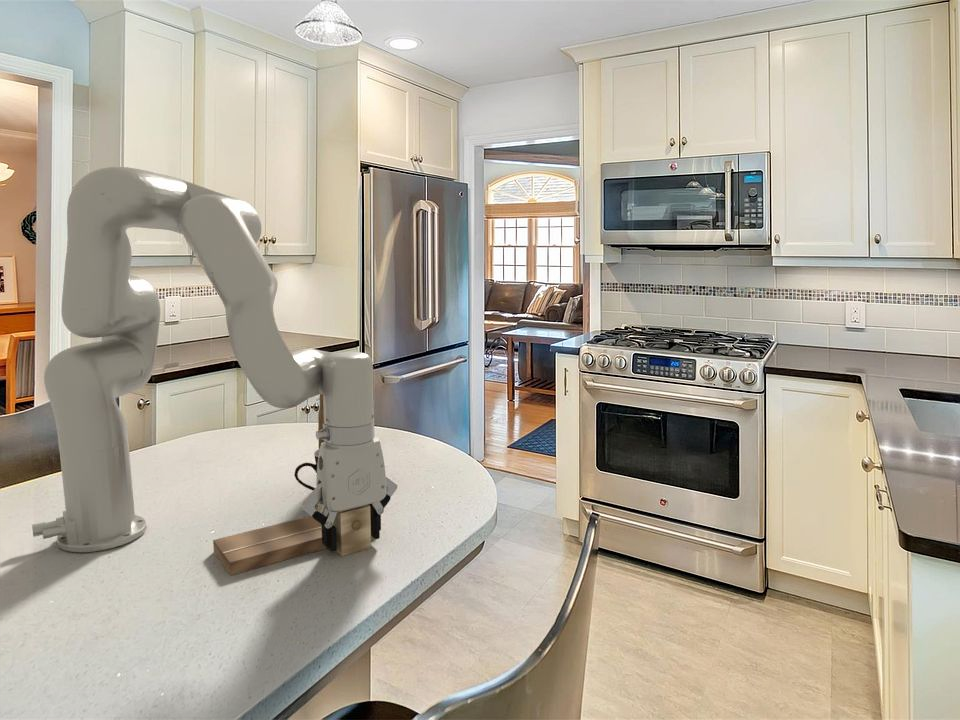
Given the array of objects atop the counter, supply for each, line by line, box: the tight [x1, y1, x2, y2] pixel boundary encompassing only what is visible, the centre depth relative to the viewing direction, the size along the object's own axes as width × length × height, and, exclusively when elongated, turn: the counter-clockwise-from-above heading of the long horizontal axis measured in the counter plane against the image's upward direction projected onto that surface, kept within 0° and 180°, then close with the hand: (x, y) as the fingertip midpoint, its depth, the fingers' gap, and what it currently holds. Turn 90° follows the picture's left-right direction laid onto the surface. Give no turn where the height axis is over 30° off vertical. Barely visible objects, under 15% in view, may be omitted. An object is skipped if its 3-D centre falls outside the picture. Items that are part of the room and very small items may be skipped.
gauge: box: [317, 503, 372, 557], centre depth 104 cm, size 5×13×7 cm, turn 37°
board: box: [212, 515, 328, 576], centre depth 103 cm, size 24×9×2 cm, turn 127°
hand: (352, 541), depth 101 cm, fingers open, 6 cm apart
